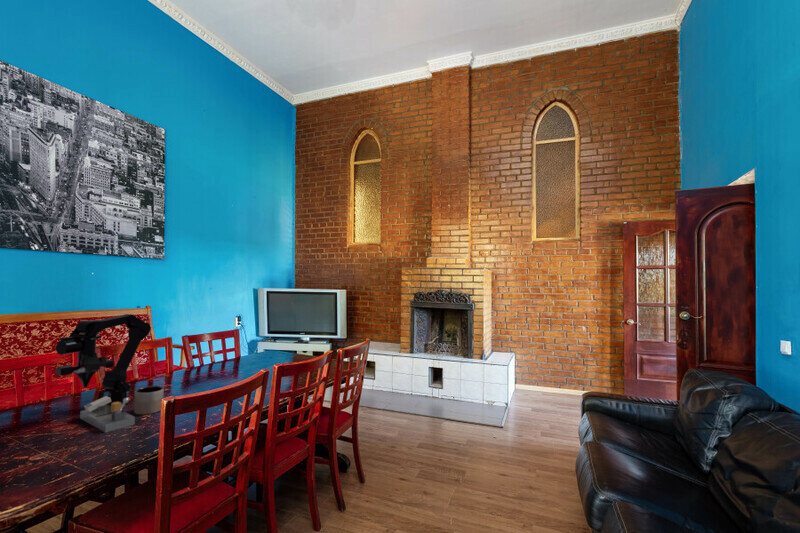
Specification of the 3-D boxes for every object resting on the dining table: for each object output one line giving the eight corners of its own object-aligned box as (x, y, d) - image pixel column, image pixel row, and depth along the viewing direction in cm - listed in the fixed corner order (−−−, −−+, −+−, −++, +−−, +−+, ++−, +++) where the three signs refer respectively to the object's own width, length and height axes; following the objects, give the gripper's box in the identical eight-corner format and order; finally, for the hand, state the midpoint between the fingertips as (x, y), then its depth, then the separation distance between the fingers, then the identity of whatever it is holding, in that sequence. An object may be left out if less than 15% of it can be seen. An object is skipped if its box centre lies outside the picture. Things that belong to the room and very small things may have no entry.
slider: (117, 409, 162) (117, 401, 162) (121, 411, 160) (121, 403, 160) (110, 411, 160) (111, 402, 160) (114, 413, 158) (114, 404, 158)
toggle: (117, 416, 154) (128, 398, 157) (119, 417, 153) (130, 398, 156) (112, 415, 153) (123, 396, 156) (114, 416, 151) (126, 397, 155)
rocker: (107, 399, 166) (106, 395, 166) (111, 401, 164) (110, 397, 164) (85, 409, 160) (84, 405, 159) (89, 411, 158) (88, 407, 157)
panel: (108, 411, 168) (108, 399, 168) (134, 424, 155) (135, 410, 155) (80, 418, 160) (80, 405, 160) (105, 432, 147) (106, 418, 147)
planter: (168, 407, 176) (169, 386, 176) (150, 416, 165) (152, 393, 165) (146, 406, 177) (147, 385, 177) (127, 414, 166) (128, 392, 166)
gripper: (67, 356, 151) (65, 396, 151) (121, 349, 167) (119, 385, 167) (55, 352, 157) (54, 391, 157) (109, 346, 173) (107, 381, 173)
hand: (85, 387), depth 163 cm, fingers closed
